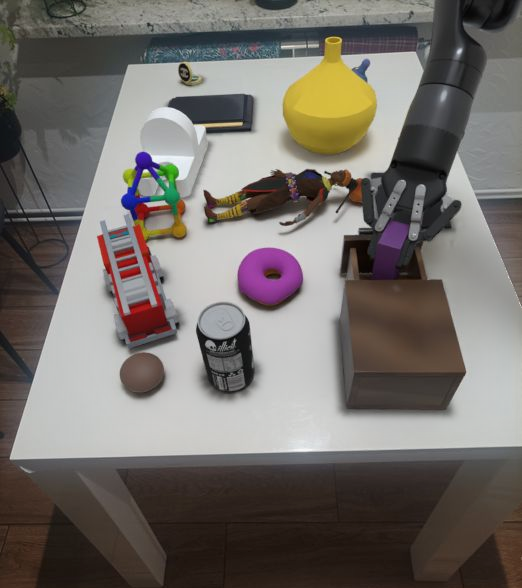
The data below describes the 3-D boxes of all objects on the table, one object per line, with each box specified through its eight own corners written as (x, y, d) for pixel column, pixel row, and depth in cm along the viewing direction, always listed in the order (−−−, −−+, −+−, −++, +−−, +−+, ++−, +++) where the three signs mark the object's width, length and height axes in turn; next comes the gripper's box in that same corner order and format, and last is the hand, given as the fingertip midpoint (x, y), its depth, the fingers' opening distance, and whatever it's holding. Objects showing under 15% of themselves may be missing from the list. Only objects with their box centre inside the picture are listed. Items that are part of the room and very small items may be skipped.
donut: (266, 319, 72) (265, 299, 68) (224, 284, 76) (221, 263, 73) (315, 285, 75) (316, 264, 72) (272, 253, 80) (271, 232, 76)
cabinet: (339, 321, 71) (345, 280, 64) (426, 321, 70) (442, 279, 63) (346, 408, 62) (354, 372, 55) (446, 409, 61) (466, 372, 54)
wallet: (254, 89, 110) (251, 124, 101) (254, 97, 112) (251, 132, 103) (169, 92, 111) (158, 127, 102) (170, 100, 113) (160, 135, 104)
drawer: (338, 250, 78) (341, 216, 73) (409, 249, 78) (418, 215, 72) (345, 335, 68) (350, 303, 62) (428, 335, 67) (440, 303, 62)
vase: (363, 116, 104) (376, 16, 89) (378, 164, 94) (395, 60, 78) (280, 121, 105) (279, 23, 89) (285, 170, 94) (284, 67, 78)
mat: (434, 173, 91) (434, 171, 91) (451, 228, 82) (451, 226, 81) (371, 175, 92) (371, 172, 91) (380, 229, 82) (381, 227, 82)
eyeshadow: (205, 79, 118) (202, 58, 114) (191, 87, 116) (188, 66, 112) (192, 75, 120) (189, 53, 116) (178, 83, 118) (175, 61, 114)
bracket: (188, 197, 90) (177, 141, 81) (138, 195, 91) (121, 139, 82) (209, 142, 101) (201, 87, 92) (163, 141, 102) (151, 86, 93)
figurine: (201, 170, 88) (362, 133, 85) (213, 206, 95) (363, 172, 92) (203, 224, 79) (383, 185, 76) (216, 259, 86) (382, 224, 82)
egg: (120, 398, 65) (111, 383, 61) (127, 363, 68) (119, 346, 65) (164, 397, 64) (157, 381, 61) (169, 361, 68) (163, 345, 65)
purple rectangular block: (377, 277, 73) (389, 219, 64) (396, 282, 72) (411, 225, 63) (366, 299, 70) (377, 242, 61) (386, 305, 69) (400, 249, 60)
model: (118, 245, 82) (113, 163, 71) (126, 211, 88) (123, 132, 77) (184, 252, 83) (190, 173, 73) (187, 219, 90) (193, 142, 79)
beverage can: (232, 347, 69) (223, 290, 59) (264, 373, 66) (260, 318, 56) (198, 374, 66) (182, 320, 57) (229, 403, 63) (218, 350, 54)
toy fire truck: (157, 258, 81) (142, 210, 73) (185, 339, 70) (171, 293, 62) (105, 273, 79) (84, 225, 71) (126, 358, 69) (104, 313, 60)
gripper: (374, 112, 59) (331, 247, 63) (491, 135, 55) (437, 279, 58) (381, 131, 66) (342, 252, 70) (485, 153, 62) (437, 281, 65)
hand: (385, 264), depth 64 cm, fingers closed on purple rectangular block, 3 cm apart
